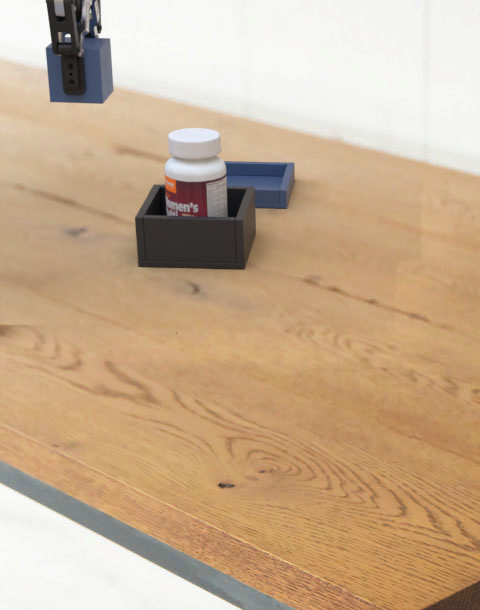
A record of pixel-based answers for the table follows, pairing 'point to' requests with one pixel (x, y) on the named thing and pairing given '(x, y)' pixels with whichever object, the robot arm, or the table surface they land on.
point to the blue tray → (263, 181)
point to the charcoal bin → (196, 233)
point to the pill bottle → (195, 174)
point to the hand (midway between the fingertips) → (81, 86)
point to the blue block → (95, 73)
